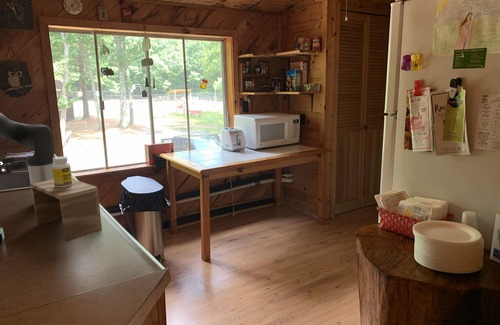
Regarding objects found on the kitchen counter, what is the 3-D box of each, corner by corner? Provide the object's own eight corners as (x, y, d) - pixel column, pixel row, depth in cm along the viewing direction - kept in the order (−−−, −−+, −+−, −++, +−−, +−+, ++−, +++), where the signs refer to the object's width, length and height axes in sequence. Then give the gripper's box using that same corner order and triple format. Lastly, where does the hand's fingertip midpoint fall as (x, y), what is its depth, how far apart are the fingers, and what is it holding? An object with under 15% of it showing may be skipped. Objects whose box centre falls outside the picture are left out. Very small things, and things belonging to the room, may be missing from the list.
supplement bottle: (65, 188, 118) (61, 159, 116) (51, 187, 119) (46, 159, 117) (76, 183, 123) (72, 156, 121) (62, 183, 125) (58, 155, 122)
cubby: (37, 224, 128) (30, 183, 124) (70, 215, 137) (65, 176, 134) (66, 241, 114) (60, 196, 110) (102, 229, 123) (97, 187, 119)
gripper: (-42, 163, 93) (26, 153, 106) (-56, 157, 102) (9, 147, 114) (-36, 191, 95) (30, 177, 107) (-50, 182, 104) (13, 170, 116)
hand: (19, 162), depth 111 cm, fingers open, 8 cm apart
